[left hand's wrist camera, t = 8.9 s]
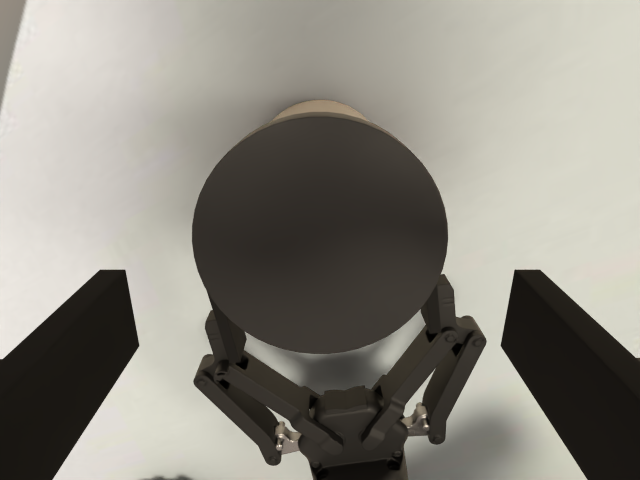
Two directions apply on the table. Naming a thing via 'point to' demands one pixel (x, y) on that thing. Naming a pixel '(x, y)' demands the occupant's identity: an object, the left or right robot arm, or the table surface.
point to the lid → (320, 233)
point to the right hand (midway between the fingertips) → (316, 251)
